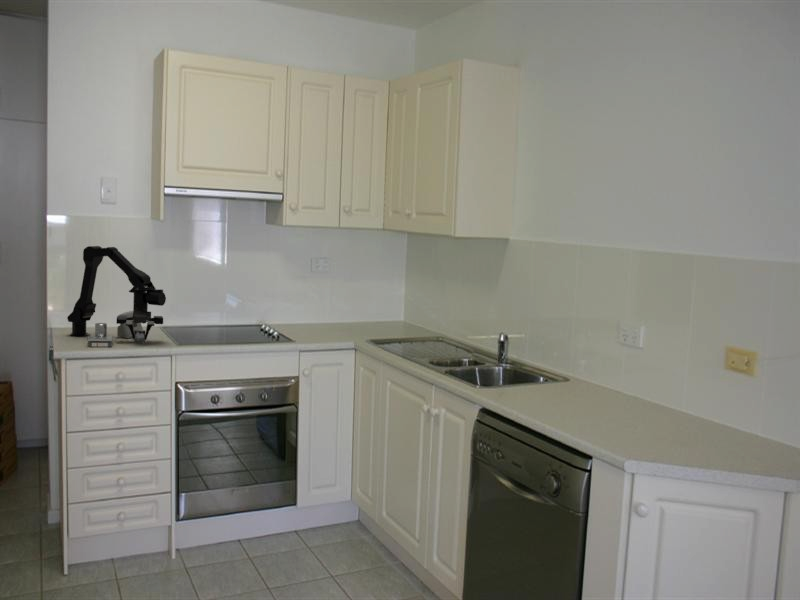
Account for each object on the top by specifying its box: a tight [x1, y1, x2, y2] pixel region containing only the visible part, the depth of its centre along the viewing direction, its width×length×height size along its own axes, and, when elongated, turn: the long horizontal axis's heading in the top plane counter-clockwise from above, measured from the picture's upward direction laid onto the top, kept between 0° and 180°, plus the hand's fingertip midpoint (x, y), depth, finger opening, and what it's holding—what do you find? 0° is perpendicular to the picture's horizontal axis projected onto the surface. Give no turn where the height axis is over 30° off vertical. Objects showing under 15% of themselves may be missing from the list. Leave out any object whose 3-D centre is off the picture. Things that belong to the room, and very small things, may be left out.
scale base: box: [87, 338, 114, 348], centre depth 304 cm, size 10×9×2 cm
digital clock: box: [116, 310, 144, 339], centre depth 329 cm, size 16×9×11 cm, turn 165°
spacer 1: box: [94, 322, 108, 337], centre depth 306 cm, size 4×4×5 cm
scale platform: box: [87, 334, 114, 342], centre depth 304 cm, size 10×9×1 cm
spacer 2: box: [133, 329, 146, 344], centre depth 315 cm, size 4×4×5 cm
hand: (139, 339), depth 316 cm, fingers closed on spacer 2, 4 cm apart
